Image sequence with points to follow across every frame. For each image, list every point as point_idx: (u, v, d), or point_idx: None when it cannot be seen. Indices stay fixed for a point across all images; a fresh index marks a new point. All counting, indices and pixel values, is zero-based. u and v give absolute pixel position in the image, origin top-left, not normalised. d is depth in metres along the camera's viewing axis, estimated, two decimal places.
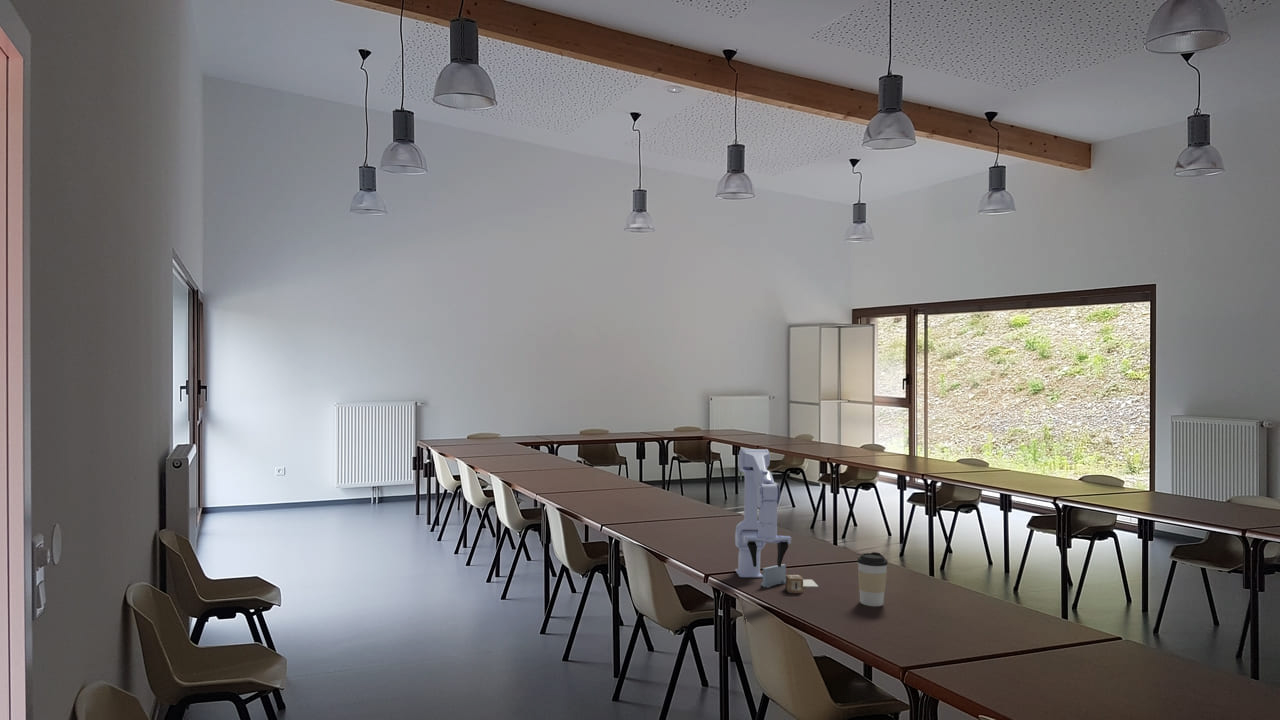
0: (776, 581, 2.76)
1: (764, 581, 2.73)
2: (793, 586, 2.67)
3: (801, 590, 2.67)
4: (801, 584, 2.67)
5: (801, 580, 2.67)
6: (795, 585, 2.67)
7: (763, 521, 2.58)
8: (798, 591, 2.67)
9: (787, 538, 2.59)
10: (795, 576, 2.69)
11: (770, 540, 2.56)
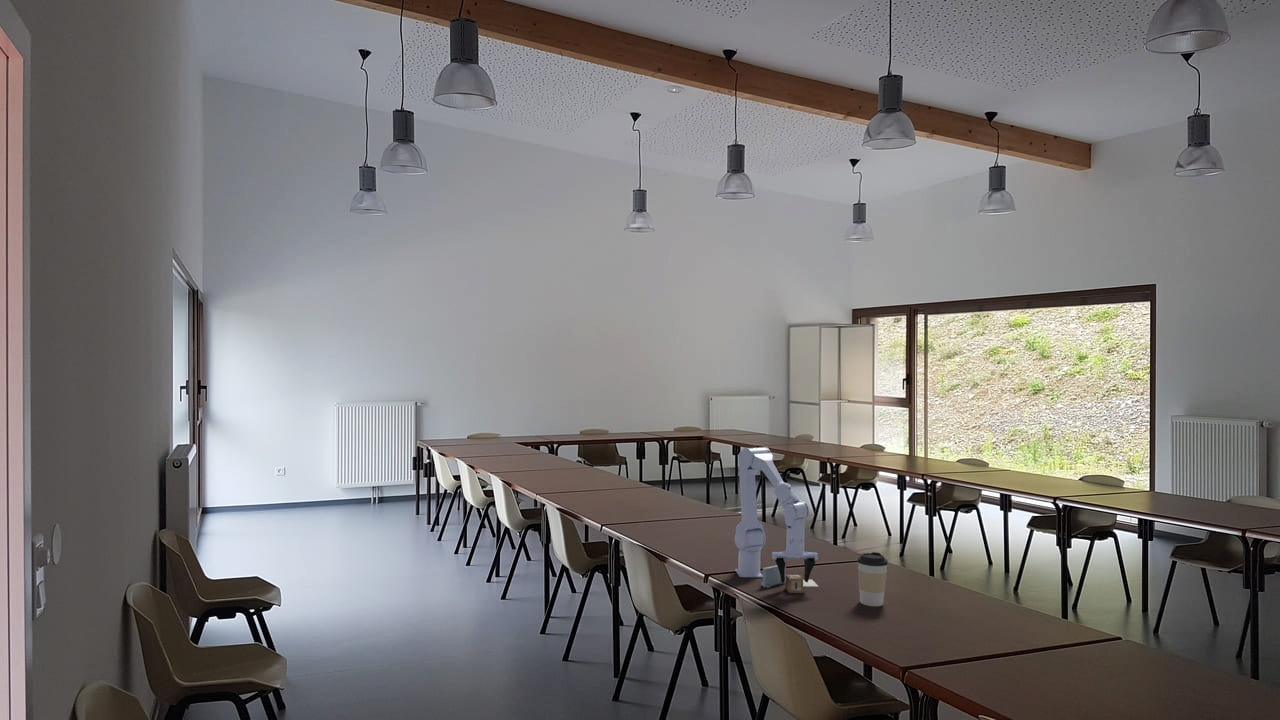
0: (776, 581, 2.76)
1: (764, 581, 2.73)
2: (793, 586, 2.67)
3: (801, 590, 2.67)
4: (801, 584, 2.67)
5: (801, 580, 2.67)
6: (795, 585, 2.67)
7: (795, 539, 2.67)
8: (798, 591, 2.67)
9: (814, 554, 2.69)
10: (795, 576, 2.69)
11: (798, 556, 2.66)
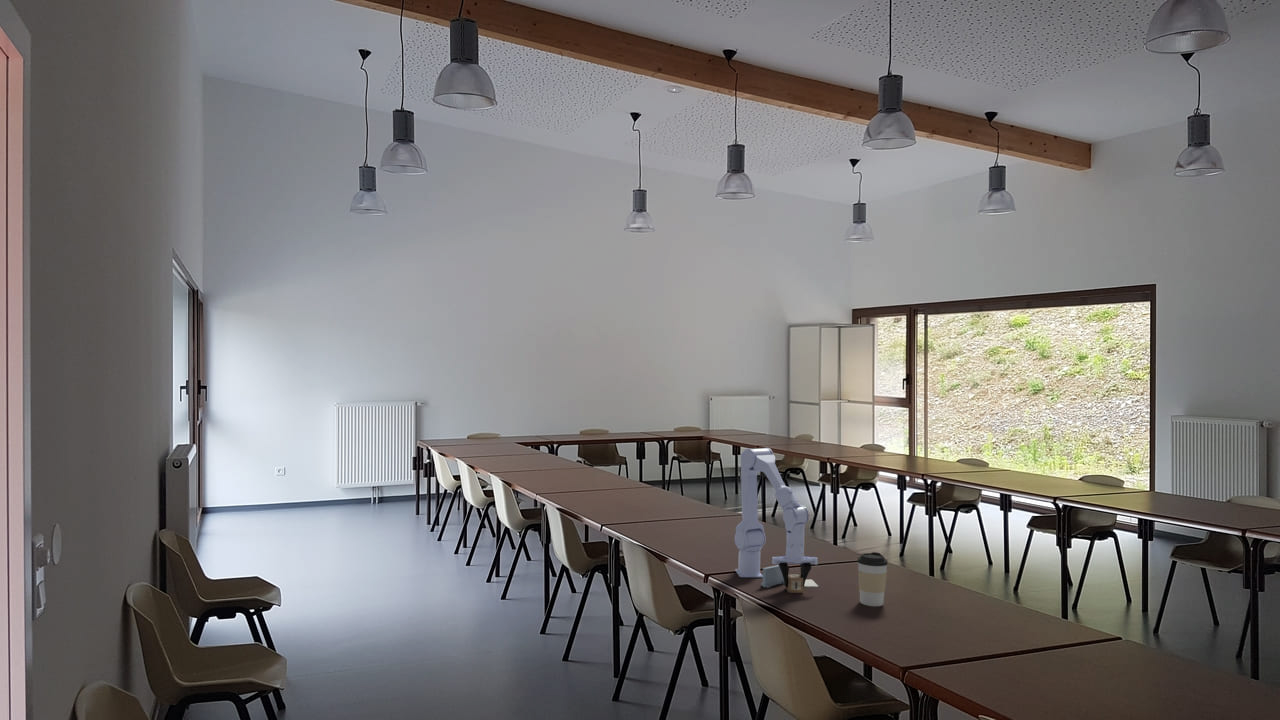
0: (776, 581, 2.76)
1: (764, 581, 2.73)
2: (793, 586, 2.67)
3: (801, 590, 2.67)
4: (801, 584, 2.67)
5: (801, 580, 2.67)
6: (795, 585, 2.67)
7: (795, 543, 2.67)
8: (798, 591, 2.67)
9: (814, 559, 2.69)
10: (795, 576, 2.69)
11: (798, 561, 2.66)
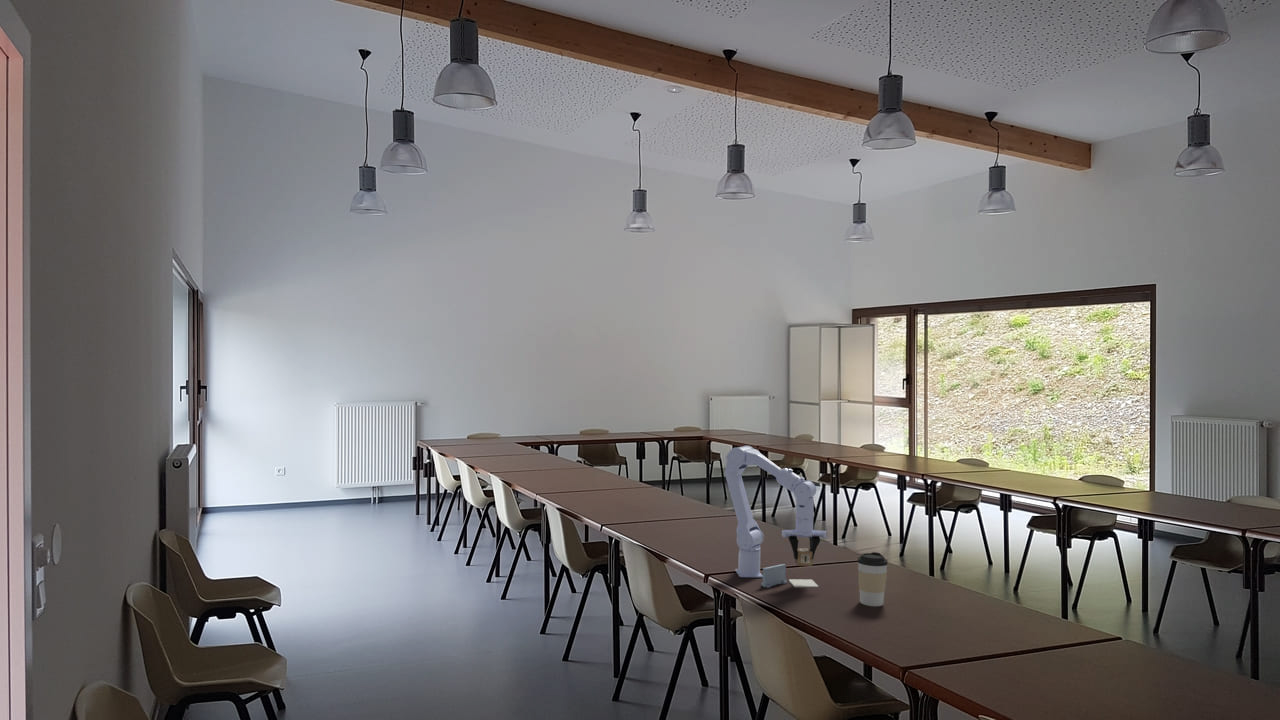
0: (776, 581, 2.76)
1: (764, 581, 2.73)
2: (802, 559, 2.75)
3: (810, 563, 2.75)
4: (810, 557, 2.75)
5: (810, 553, 2.75)
6: (804, 558, 2.75)
7: (808, 517, 2.75)
8: (807, 564, 2.75)
9: (823, 532, 2.77)
10: (805, 550, 2.77)
11: (807, 534, 2.74)
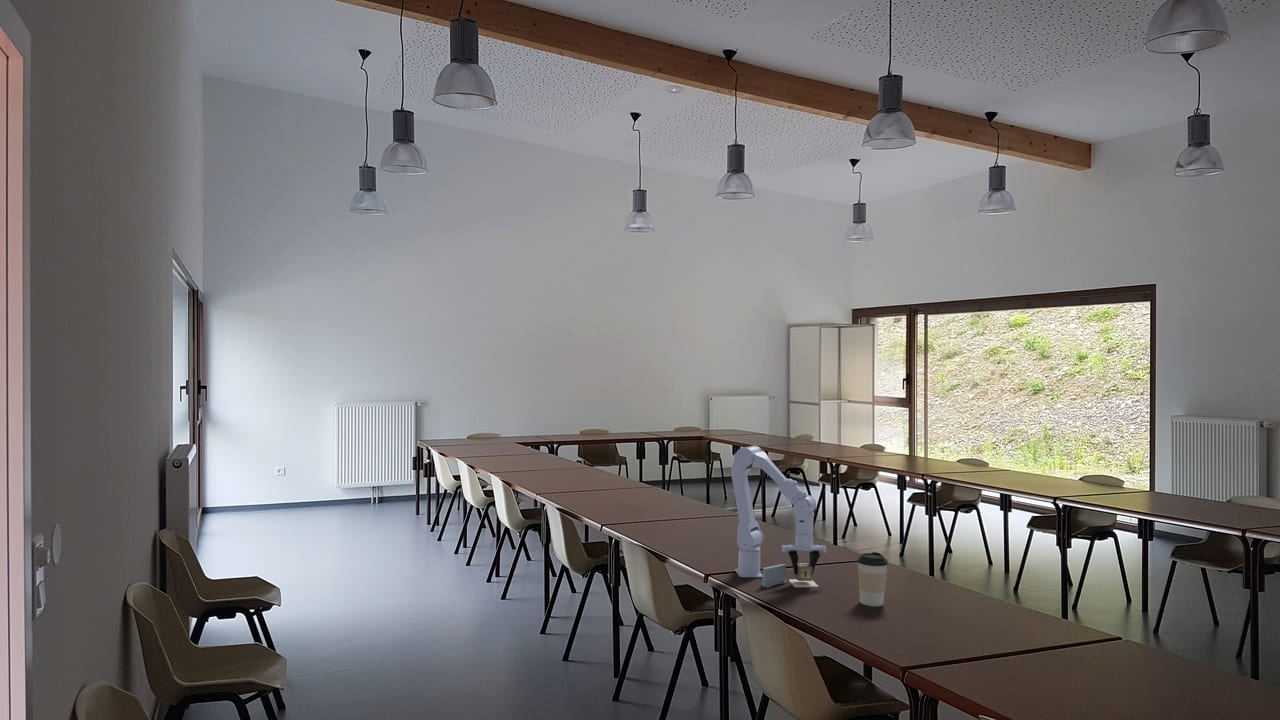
0: (776, 581, 2.76)
1: (764, 581, 2.73)
2: (802, 574, 2.75)
3: (810, 578, 2.75)
4: (810, 572, 2.75)
5: (810, 568, 2.75)
6: (804, 573, 2.75)
7: (808, 532, 2.75)
8: (807, 579, 2.75)
9: (822, 547, 2.77)
10: (804, 564, 2.77)
11: (807, 549, 2.74)
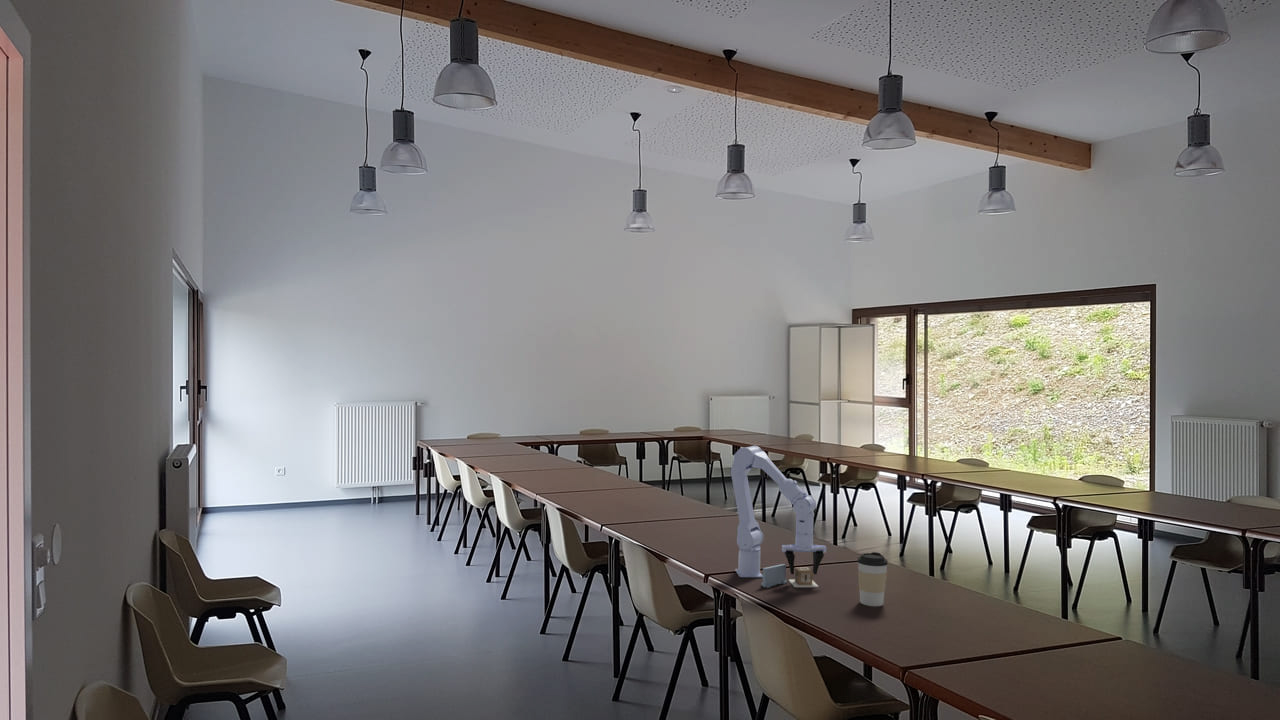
0: (776, 581, 2.76)
1: (764, 581, 2.73)
2: (803, 578, 2.75)
3: (810, 582, 2.75)
4: (810, 576, 2.75)
5: (810, 572, 2.75)
6: (805, 577, 2.75)
7: (808, 532, 2.75)
8: (807, 583, 2.75)
9: (822, 547, 2.77)
10: (804, 568, 2.77)
11: (807, 549, 2.74)
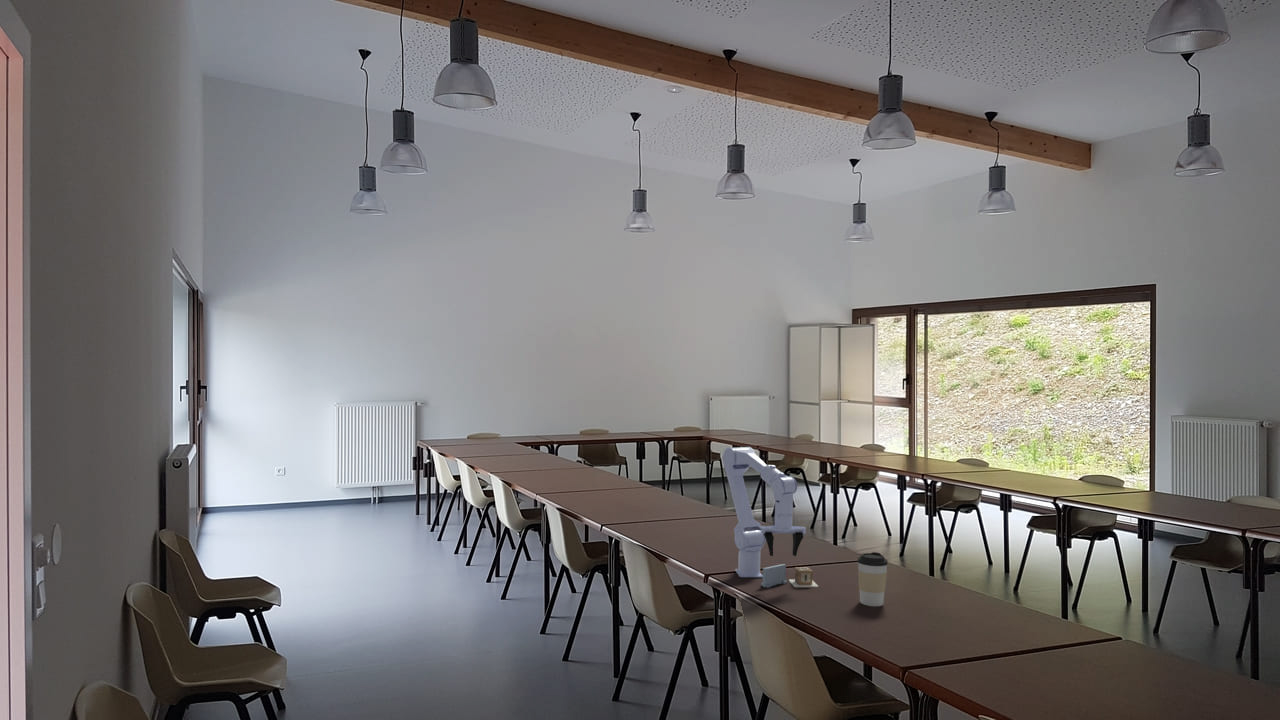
0: (776, 581, 2.76)
1: (764, 581, 2.73)
2: (803, 578, 2.75)
3: (810, 582, 2.75)
4: (810, 576, 2.75)
5: (810, 572, 2.75)
6: (805, 577, 2.75)
7: (784, 513, 2.70)
8: (807, 583, 2.75)
9: (802, 529, 2.73)
10: (804, 568, 2.77)
11: (786, 530, 2.69)
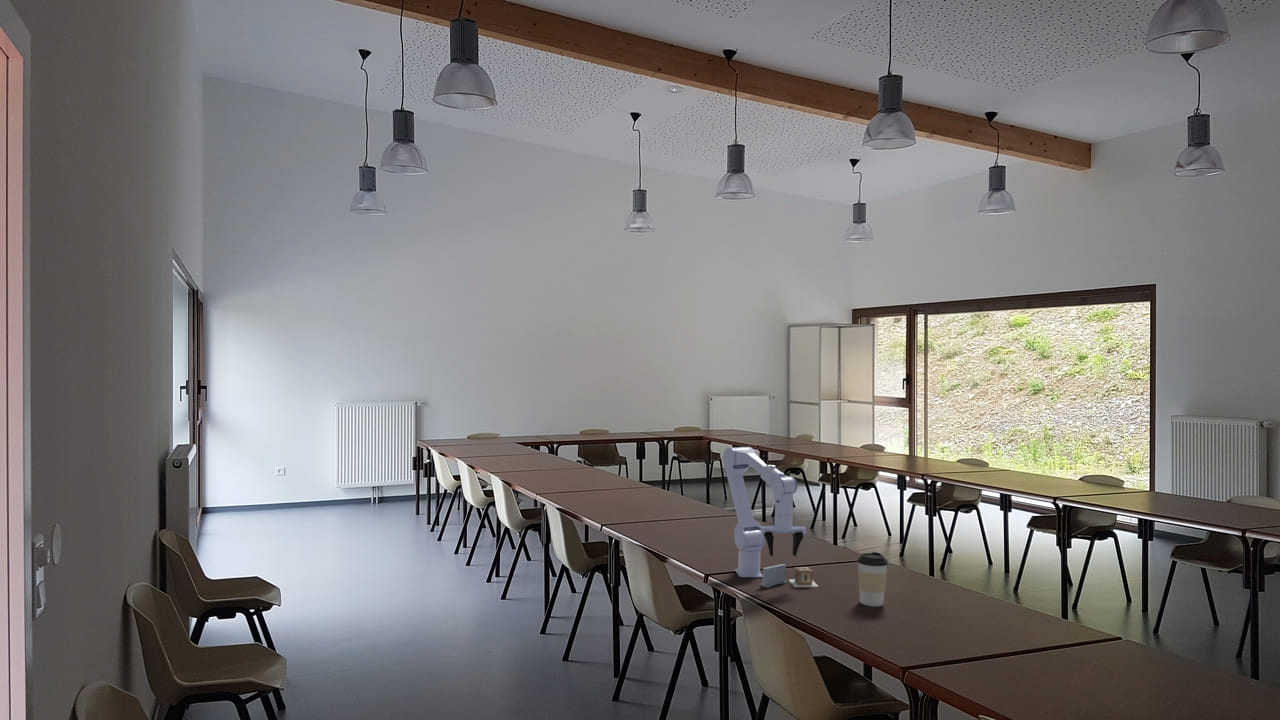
0: (776, 581, 2.76)
1: (764, 581, 2.73)
2: (803, 578, 2.75)
3: (810, 582, 2.75)
4: (810, 576, 2.75)
5: (810, 572, 2.75)
6: (805, 577, 2.75)
7: (784, 513, 2.70)
8: (807, 583, 2.75)
9: (802, 529, 2.73)
10: (804, 568, 2.77)
11: (786, 530, 2.69)
